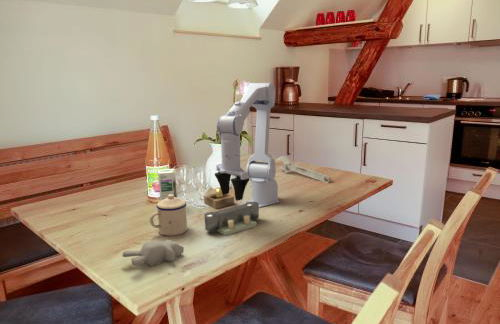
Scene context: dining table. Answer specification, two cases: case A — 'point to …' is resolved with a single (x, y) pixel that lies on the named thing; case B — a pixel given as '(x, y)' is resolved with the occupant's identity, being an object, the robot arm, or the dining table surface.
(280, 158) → the wrench
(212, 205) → the slot block
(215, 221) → the ball-knob grey rod
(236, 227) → the rack
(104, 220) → the dining table surface
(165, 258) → the bunny figurine
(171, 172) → the syrup box
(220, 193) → the pin
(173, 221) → the teacup with lid
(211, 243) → the dining table surface
